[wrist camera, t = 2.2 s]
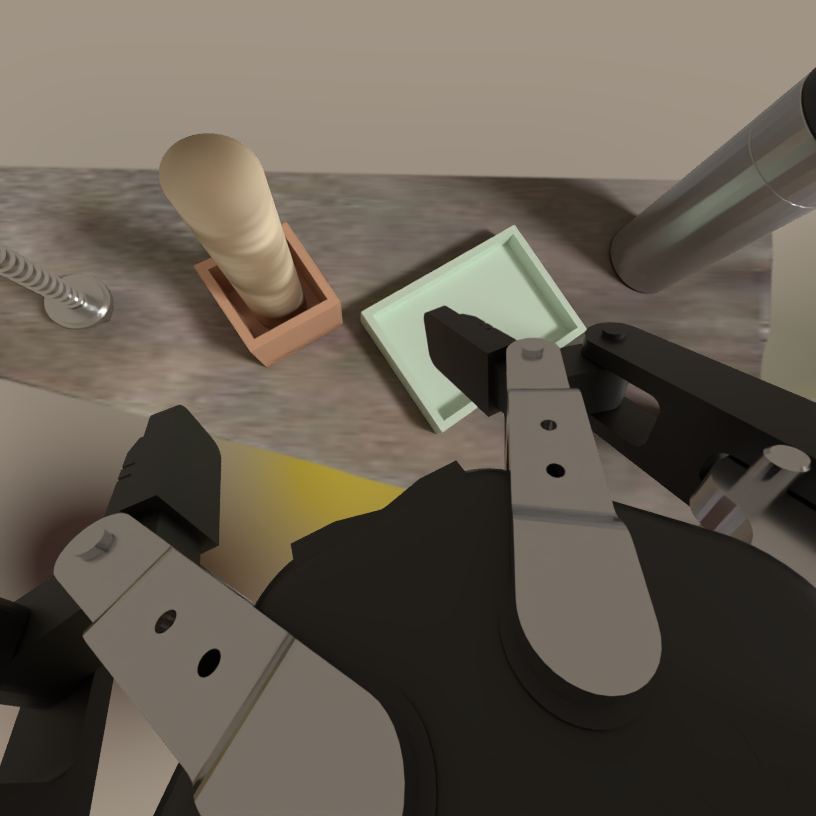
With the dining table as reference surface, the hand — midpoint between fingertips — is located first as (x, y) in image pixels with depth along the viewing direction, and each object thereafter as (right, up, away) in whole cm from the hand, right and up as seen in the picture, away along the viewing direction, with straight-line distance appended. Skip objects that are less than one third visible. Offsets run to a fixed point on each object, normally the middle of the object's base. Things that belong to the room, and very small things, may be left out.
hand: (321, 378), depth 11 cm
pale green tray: (+10, +8, +24) cm, 27 cm away
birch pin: (-10, +9, +20) cm, 24 cm away
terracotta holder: (-10, +9, +21) cm, 25 cm away
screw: (-26, +8, +19) cm, 33 cm away
